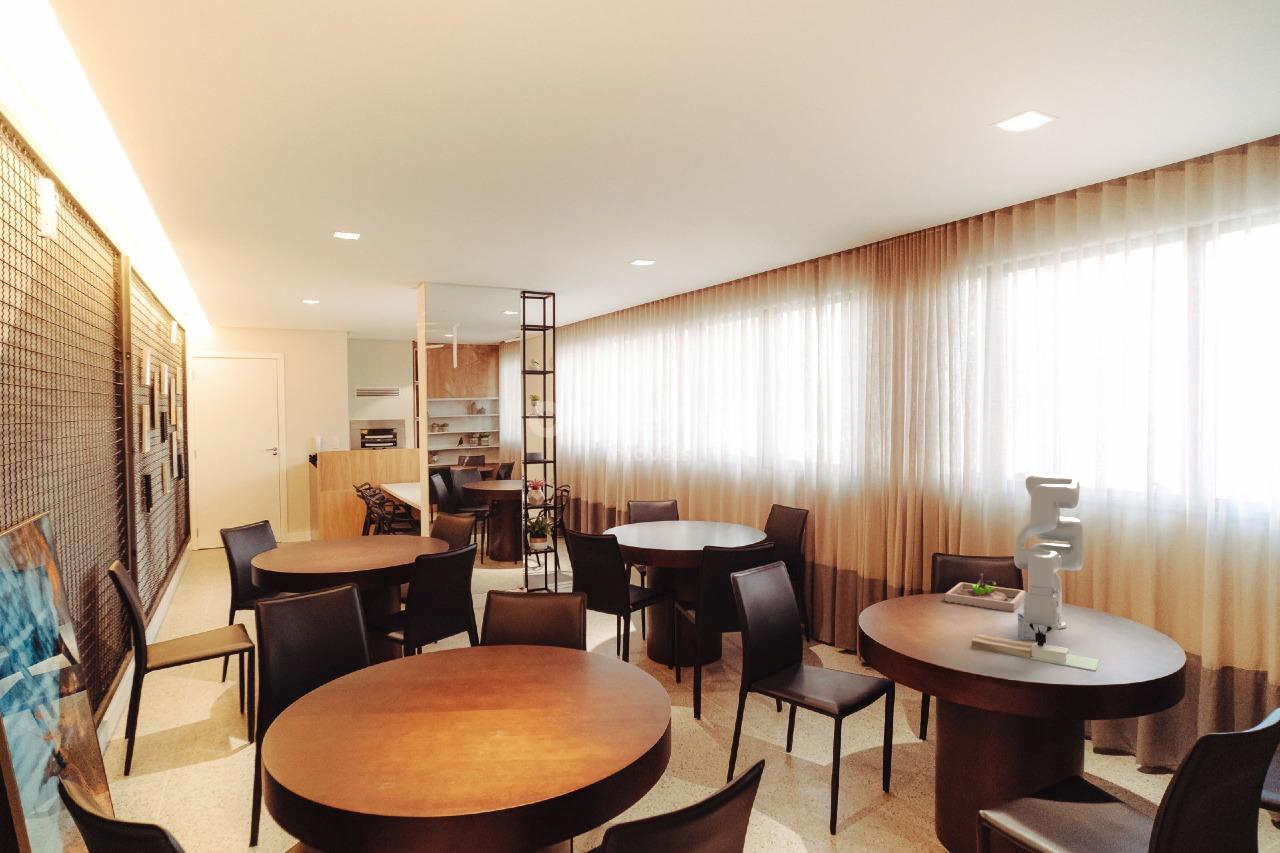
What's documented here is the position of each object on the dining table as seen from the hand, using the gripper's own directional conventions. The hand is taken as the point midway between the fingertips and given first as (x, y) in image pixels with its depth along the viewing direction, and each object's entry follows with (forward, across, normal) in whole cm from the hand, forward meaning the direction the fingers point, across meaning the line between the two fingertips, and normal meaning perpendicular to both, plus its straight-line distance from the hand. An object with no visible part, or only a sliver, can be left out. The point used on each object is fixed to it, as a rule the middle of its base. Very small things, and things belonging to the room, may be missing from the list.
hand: (1040, 644), depth 232 cm
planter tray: (+4, +30, -67) cm, 74 cm away
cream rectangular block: (+3, -3, +1) cm, 4 cm away
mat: (+4, -7, 0) cm, 8 cm away
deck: (+4, +12, 0) cm, 12 cm away
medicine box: (+4, +6, -19) cm, 20 cm away
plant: (+4, +32, -69) cm, 76 cm away
